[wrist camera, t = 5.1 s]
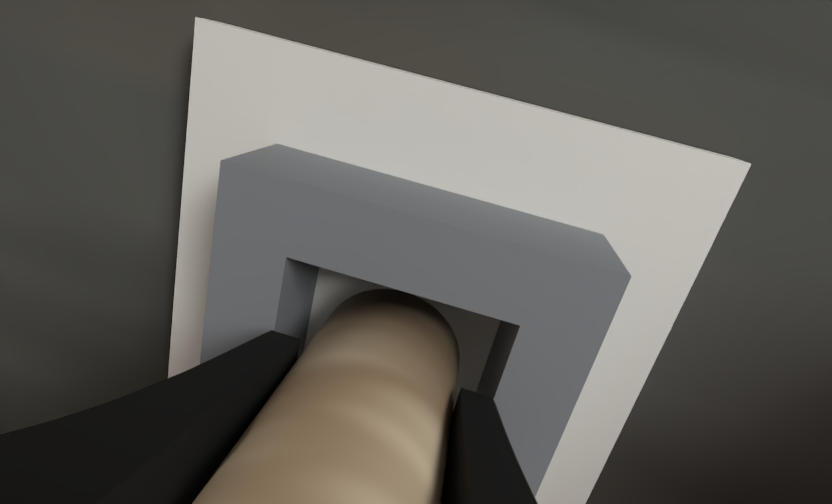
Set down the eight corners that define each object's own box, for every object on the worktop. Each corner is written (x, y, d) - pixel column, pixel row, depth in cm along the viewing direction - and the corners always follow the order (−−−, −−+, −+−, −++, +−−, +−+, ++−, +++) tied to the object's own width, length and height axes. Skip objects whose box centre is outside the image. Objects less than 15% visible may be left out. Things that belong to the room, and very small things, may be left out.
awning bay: (730, 156, 11) (1065, 269, 4) (509, 625, 17) (516, 978, 10) (219, 22, 12) (-129, -48, 5) (174, 513, 17) (-21, 774, 11)
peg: (476, 311, 11) (454, 557, 5) (439, 431, 12) (389, 743, 6) (333, 271, 11) (162, 466, 5) (311, 392, 12) (147, 660, 6)
